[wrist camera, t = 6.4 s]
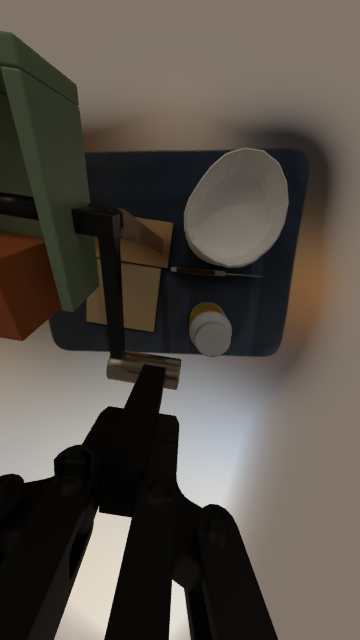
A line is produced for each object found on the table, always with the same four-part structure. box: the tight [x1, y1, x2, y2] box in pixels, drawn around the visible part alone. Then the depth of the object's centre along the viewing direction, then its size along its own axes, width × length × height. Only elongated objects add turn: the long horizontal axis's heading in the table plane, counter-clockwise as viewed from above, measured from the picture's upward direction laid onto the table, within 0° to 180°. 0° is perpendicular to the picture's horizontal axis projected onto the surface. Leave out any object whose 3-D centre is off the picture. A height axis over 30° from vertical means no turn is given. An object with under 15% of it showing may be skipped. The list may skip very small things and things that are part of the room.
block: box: [0, 231, 61, 341], centre depth 10 cm, size 4×4×4 cm
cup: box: [184, 148, 289, 268], centre depth 23 cm, size 10×10×10 cm
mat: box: [87, 258, 161, 332], centre depth 31 cm, size 10×11×1 cm
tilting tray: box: [0, 31, 181, 390], centre depth 12 cm, size 15×16×5 cm
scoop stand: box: [94, 208, 173, 268], centre depth 20 cm, size 6×13×18 cm, turn 82°
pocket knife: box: [171, 267, 262, 277], centre depth 28 cm, size 14×1×2 cm, turn 85°
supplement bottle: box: [189, 302, 232, 357], centre depth 27 cm, size 5×5×10 cm
